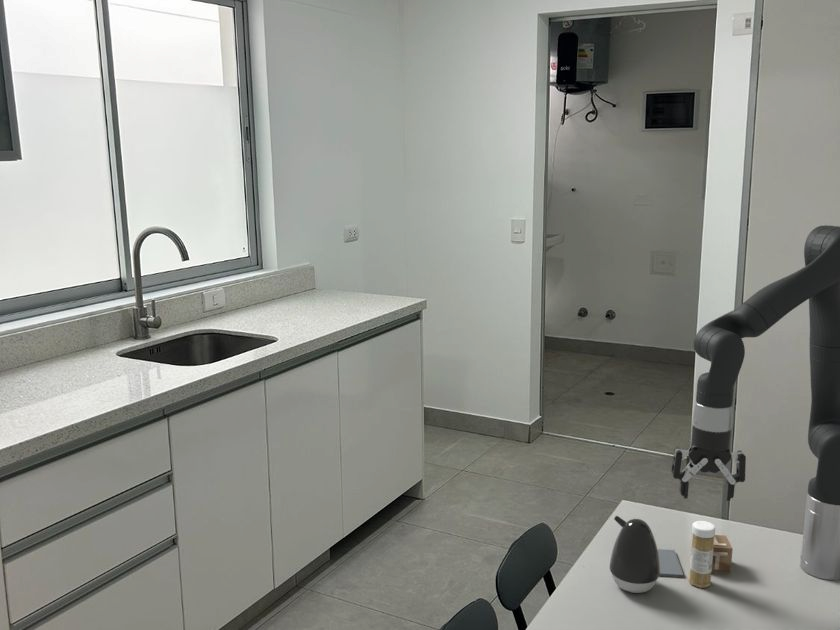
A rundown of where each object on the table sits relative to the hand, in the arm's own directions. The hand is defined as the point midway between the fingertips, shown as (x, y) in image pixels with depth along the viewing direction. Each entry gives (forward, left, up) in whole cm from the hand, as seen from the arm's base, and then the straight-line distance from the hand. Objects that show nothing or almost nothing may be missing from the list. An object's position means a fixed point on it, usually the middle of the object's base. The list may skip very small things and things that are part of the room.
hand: (705, 498), depth 170 cm
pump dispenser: (+14, +3, -20) cm, 24 cm away
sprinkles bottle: (0, 0, -20) cm, 20 cm away
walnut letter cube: (-5, -8, -20) cm, 22 cm away
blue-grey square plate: (+8, -7, -19) cm, 22 cm away
